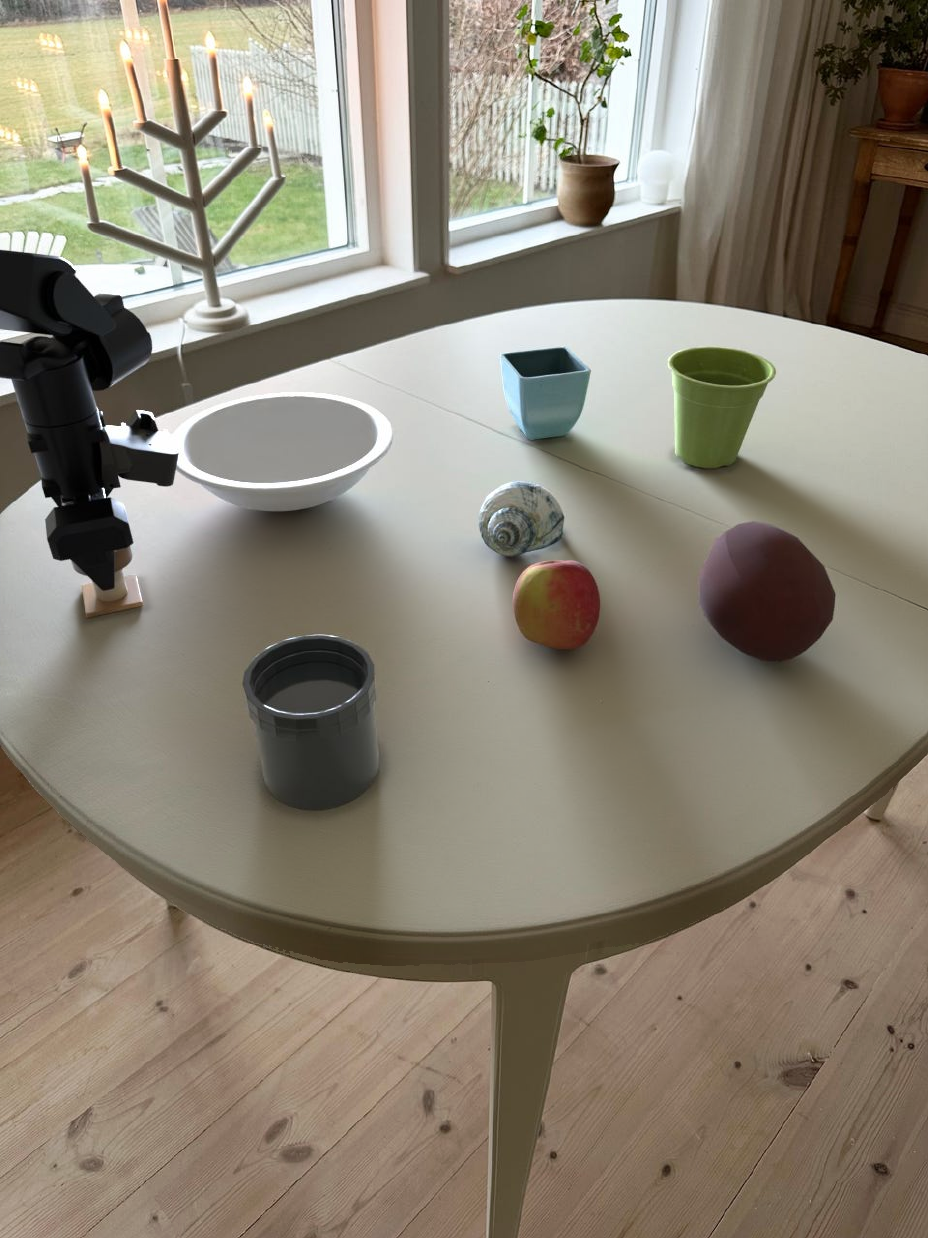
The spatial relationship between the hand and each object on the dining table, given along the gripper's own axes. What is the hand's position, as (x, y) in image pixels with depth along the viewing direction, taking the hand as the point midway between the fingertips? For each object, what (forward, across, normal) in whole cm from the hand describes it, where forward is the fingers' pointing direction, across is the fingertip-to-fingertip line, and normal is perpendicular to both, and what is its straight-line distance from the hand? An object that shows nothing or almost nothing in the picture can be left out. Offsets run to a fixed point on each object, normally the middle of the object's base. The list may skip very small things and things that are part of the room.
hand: (105, 571), depth 85 cm
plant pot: (+3, +3, -68) cm, 68 cm away
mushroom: (+2, 0, 0) cm, 3 cm away
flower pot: (+3, +17, -53) cm, 56 cm away
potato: (+3, -29, -51) cm, 59 cm away
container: (+3, -29, -12) cm, 32 cm away
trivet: (+3, 0, 0) cm, 3 cm away
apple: (+3, -22, -35) cm, 42 cm away
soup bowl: (+3, +14, -20) cm, 25 cm away
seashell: (+3, -6, -39) cm, 40 cm away
